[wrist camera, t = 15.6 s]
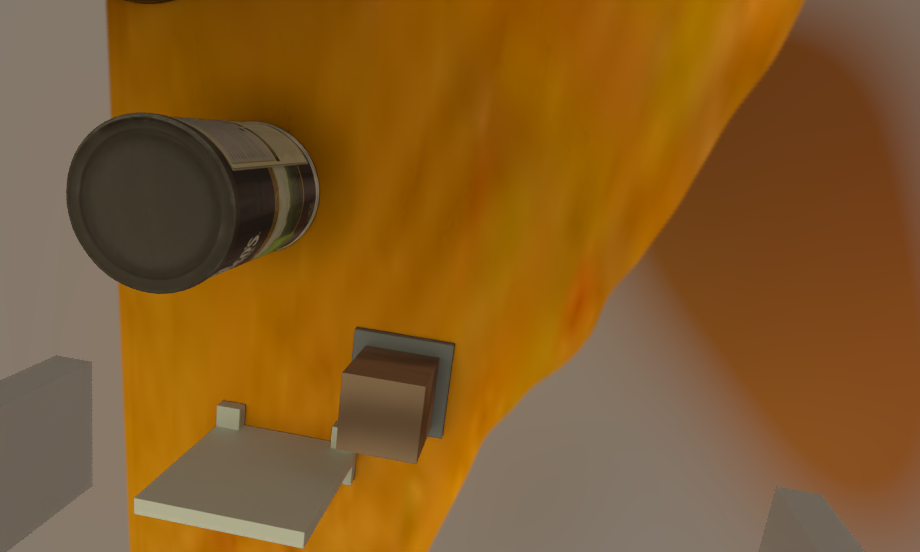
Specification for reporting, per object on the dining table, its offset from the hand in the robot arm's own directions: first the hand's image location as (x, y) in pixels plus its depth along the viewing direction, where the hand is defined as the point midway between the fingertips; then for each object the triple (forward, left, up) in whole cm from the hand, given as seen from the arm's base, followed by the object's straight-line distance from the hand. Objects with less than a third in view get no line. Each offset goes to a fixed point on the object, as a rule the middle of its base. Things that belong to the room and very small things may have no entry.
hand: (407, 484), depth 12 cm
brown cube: (+14, -7, -36) cm, 39 cm away
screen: (+21, -16, -37) cm, 45 cm away
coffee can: (0, -20, -37) cm, 42 cm away
